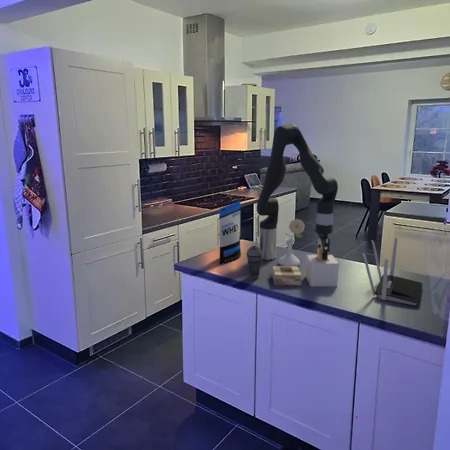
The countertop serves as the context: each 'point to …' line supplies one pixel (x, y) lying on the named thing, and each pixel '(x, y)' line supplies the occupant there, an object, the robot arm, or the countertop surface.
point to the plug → (320, 254)
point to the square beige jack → (286, 275)
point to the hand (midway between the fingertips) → (322, 256)
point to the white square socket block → (322, 271)
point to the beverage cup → (254, 261)
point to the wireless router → (394, 283)
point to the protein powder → (229, 233)
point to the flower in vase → (289, 258)
